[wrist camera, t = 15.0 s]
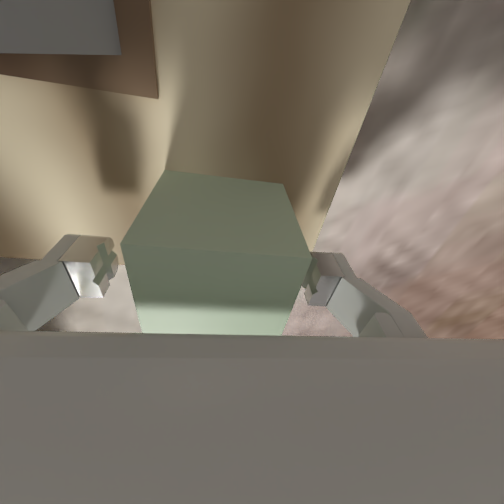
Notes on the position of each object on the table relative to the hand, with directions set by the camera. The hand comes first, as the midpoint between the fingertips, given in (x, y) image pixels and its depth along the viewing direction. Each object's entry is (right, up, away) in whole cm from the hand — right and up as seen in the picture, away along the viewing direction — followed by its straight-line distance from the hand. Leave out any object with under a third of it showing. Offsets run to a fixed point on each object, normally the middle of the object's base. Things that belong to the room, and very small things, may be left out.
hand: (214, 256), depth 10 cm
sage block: (0, +1, +1) cm, 2 cm away
